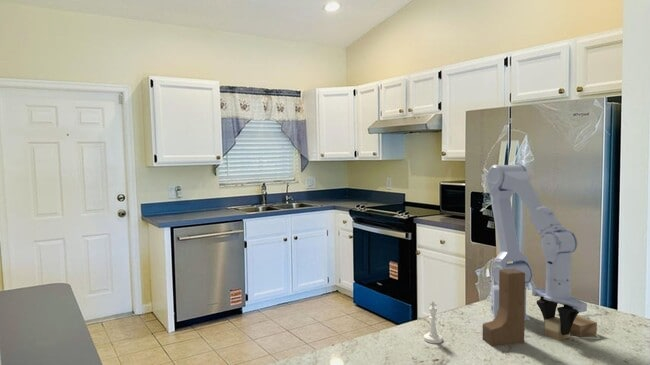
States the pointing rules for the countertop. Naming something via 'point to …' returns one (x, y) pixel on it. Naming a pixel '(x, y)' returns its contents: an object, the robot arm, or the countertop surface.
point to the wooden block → (508, 311)
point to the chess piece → (433, 327)
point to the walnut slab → (583, 327)
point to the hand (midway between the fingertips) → (557, 330)
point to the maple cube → (554, 329)
